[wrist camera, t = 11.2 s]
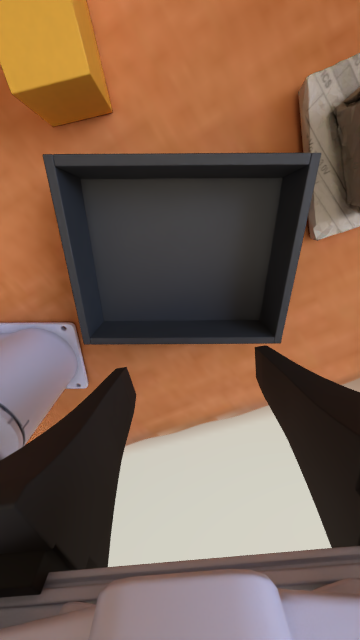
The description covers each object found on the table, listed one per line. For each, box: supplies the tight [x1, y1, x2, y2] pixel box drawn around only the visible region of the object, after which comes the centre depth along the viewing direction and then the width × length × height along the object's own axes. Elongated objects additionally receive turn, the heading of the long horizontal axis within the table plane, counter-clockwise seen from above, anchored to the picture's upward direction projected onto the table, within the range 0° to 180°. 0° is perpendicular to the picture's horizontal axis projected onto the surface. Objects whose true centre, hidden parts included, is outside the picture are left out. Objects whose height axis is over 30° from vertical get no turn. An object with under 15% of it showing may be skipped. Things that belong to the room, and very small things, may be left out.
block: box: [0, 0, 112, 127], centre depth 11 cm, size 4×8×4 cm, turn 10°
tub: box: [43, 153, 321, 344], centre depth 16 cm, size 16×13×4 cm
